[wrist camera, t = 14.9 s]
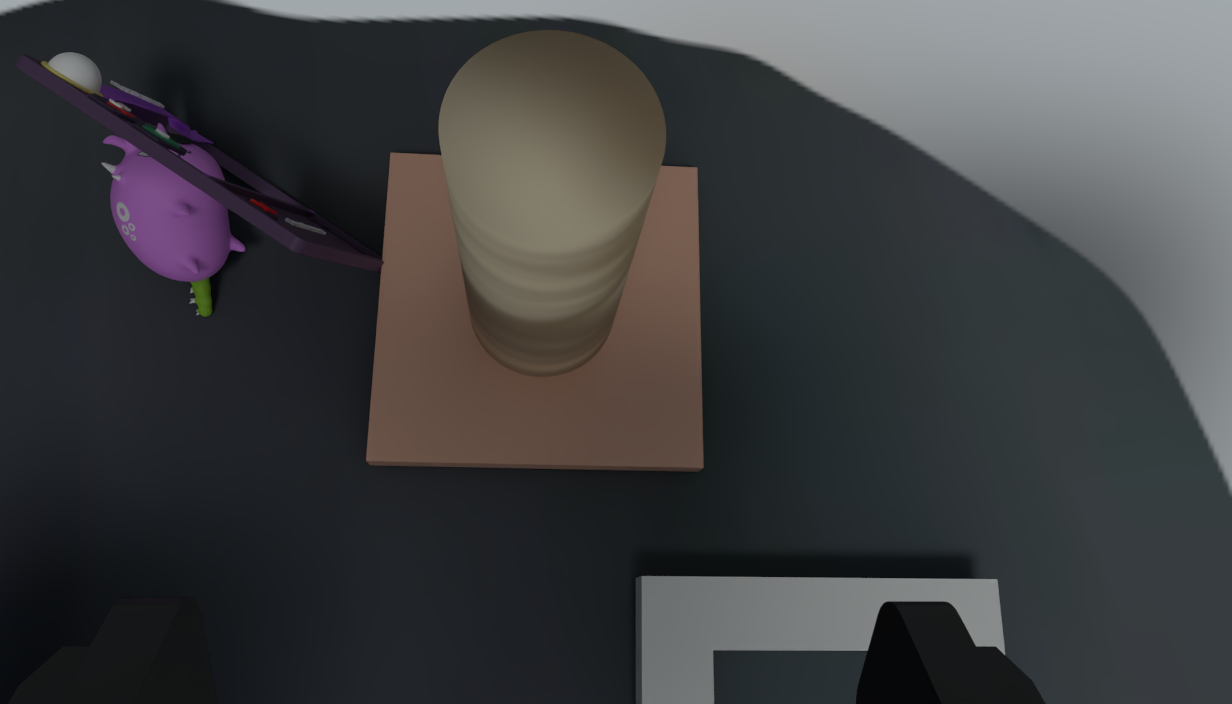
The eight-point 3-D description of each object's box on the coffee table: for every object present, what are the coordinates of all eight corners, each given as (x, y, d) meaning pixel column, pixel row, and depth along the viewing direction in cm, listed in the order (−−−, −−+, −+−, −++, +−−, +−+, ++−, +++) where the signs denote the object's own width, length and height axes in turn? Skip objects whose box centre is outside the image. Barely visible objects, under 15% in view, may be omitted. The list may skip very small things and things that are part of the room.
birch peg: (548, 406, 28) (563, 279, 17) (439, 311, 28) (389, 131, 18) (643, 302, 29) (711, 124, 19) (536, 213, 30) (544, -10, 19)
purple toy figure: (319, 214, 23) (32, 26, 24) (209, 391, 23) (-71, 199, 24) (405, 245, 30) (180, 97, 30) (320, 381, 30) (99, 232, 30)
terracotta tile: (698, 471, 29) (703, 467, 28) (370, 465, 28) (366, 461, 27) (693, 178, 31) (697, 167, 31) (394, 164, 31) (390, 152, 30)
